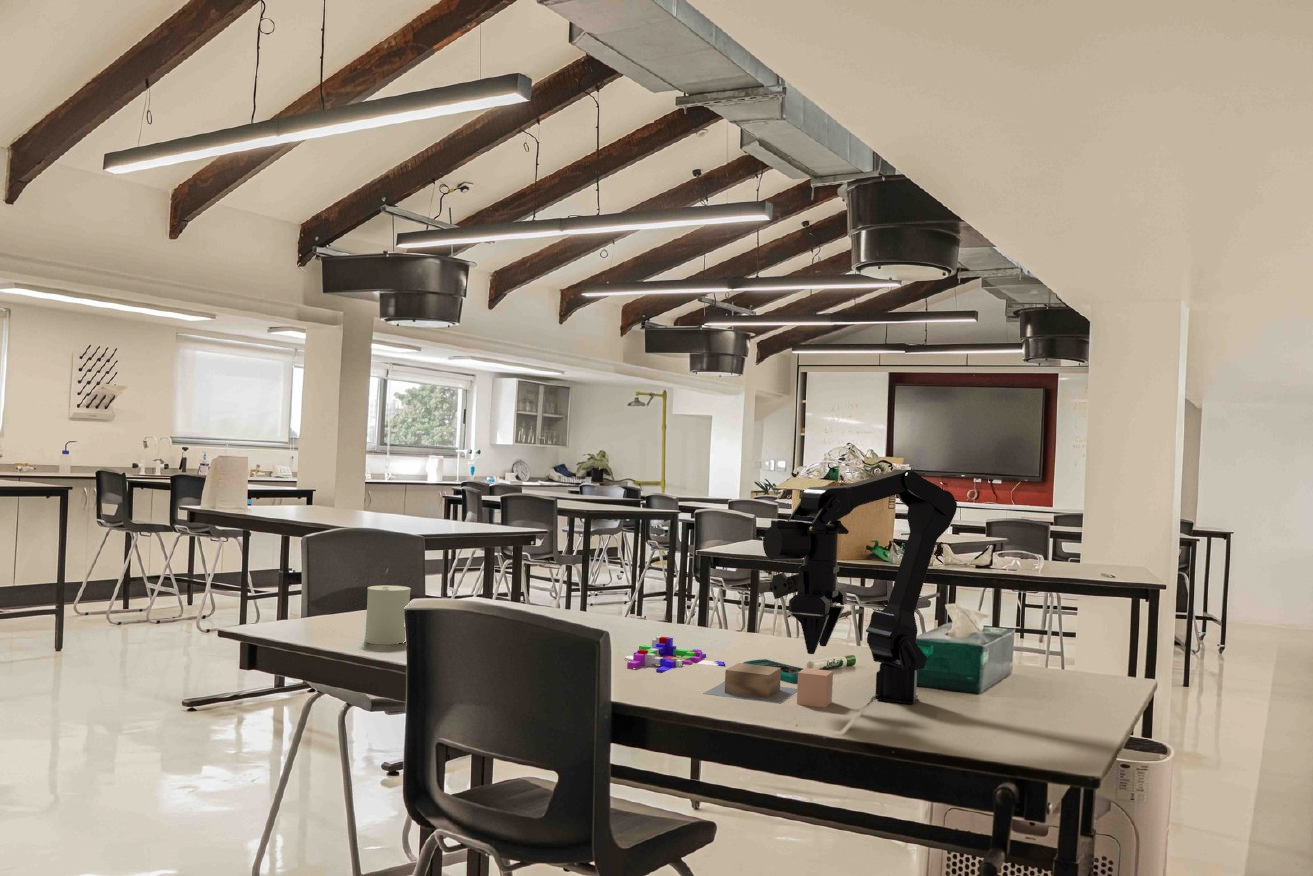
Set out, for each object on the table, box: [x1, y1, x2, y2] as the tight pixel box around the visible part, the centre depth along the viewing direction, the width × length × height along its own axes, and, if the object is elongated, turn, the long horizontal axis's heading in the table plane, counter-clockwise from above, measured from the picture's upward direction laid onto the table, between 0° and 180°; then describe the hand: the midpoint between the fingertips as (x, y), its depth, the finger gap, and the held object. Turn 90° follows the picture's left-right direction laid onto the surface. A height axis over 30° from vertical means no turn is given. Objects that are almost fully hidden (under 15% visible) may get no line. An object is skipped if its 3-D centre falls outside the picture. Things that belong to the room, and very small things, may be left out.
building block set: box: [624, 635, 726, 673], centre depth 215 cm, size 25×20×4 cm
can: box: [363, 584, 412, 646], centre depth 223 cm, size 9×9×12 cm
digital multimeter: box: [742, 658, 805, 684], centre depth 202 cm, size 7×15×3 cm, turn 40°
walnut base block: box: [724, 662, 781, 698], centre depth 186 cm, size 8×8×4 cm
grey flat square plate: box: [702, 681, 797, 704], centre depth 186 cm, size 14×14×1 cm
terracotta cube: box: [796, 667, 834, 708], centre depth 178 cm, size 5×5×6 cm
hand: (817, 650), depth 179 cm, fingers open, 9 cm apart
